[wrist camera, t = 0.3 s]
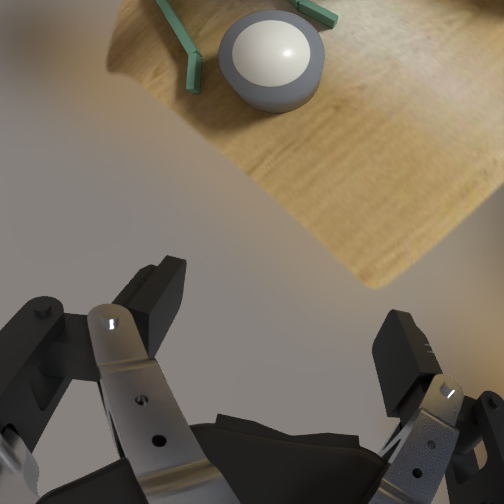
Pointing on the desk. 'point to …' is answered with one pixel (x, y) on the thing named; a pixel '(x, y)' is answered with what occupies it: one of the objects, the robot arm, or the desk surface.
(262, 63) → the grey cylinder
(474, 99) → the desk surface
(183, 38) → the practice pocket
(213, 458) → the robot arm
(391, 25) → the desk surface
